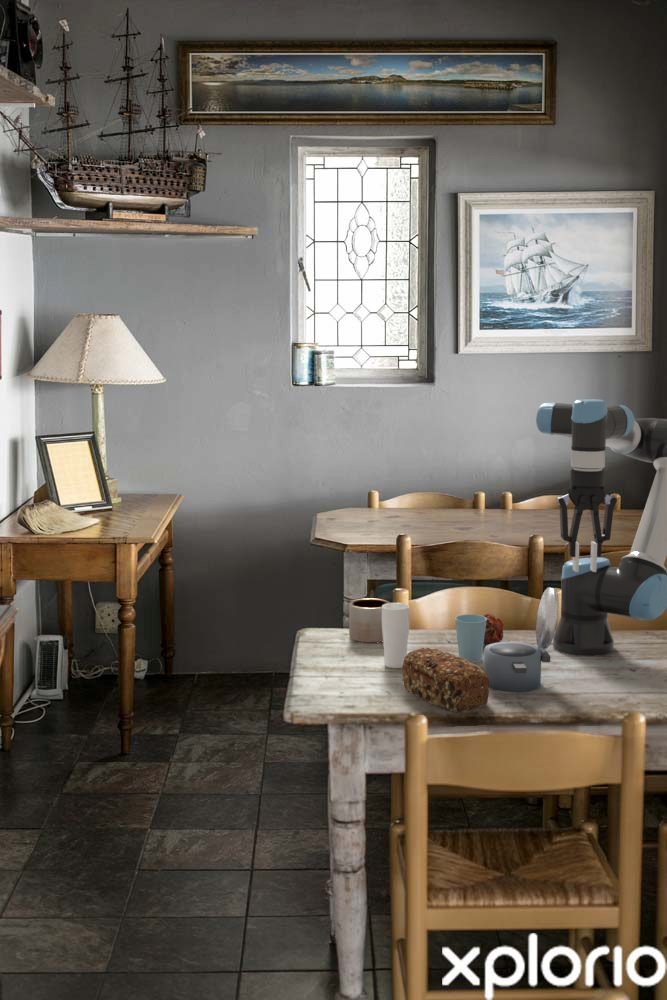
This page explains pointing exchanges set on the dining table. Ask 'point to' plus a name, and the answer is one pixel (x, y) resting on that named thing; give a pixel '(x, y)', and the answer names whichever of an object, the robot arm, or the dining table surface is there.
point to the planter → (366, 620)
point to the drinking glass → (395, 633)
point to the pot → (514, 666)
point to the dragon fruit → (493, 630)
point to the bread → (445, 679)
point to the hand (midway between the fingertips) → (584, 570)
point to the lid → (547, 618)
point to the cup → (470, 636)
